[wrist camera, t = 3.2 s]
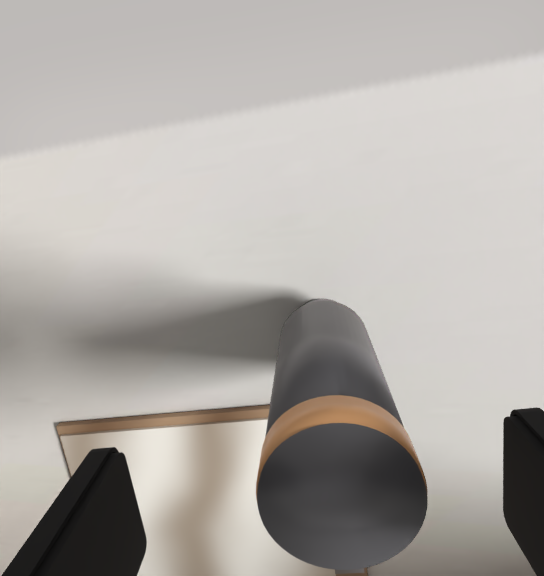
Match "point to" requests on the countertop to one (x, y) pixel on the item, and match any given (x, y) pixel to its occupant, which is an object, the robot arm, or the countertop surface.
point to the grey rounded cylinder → (336, 448)
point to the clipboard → (195, 490)
